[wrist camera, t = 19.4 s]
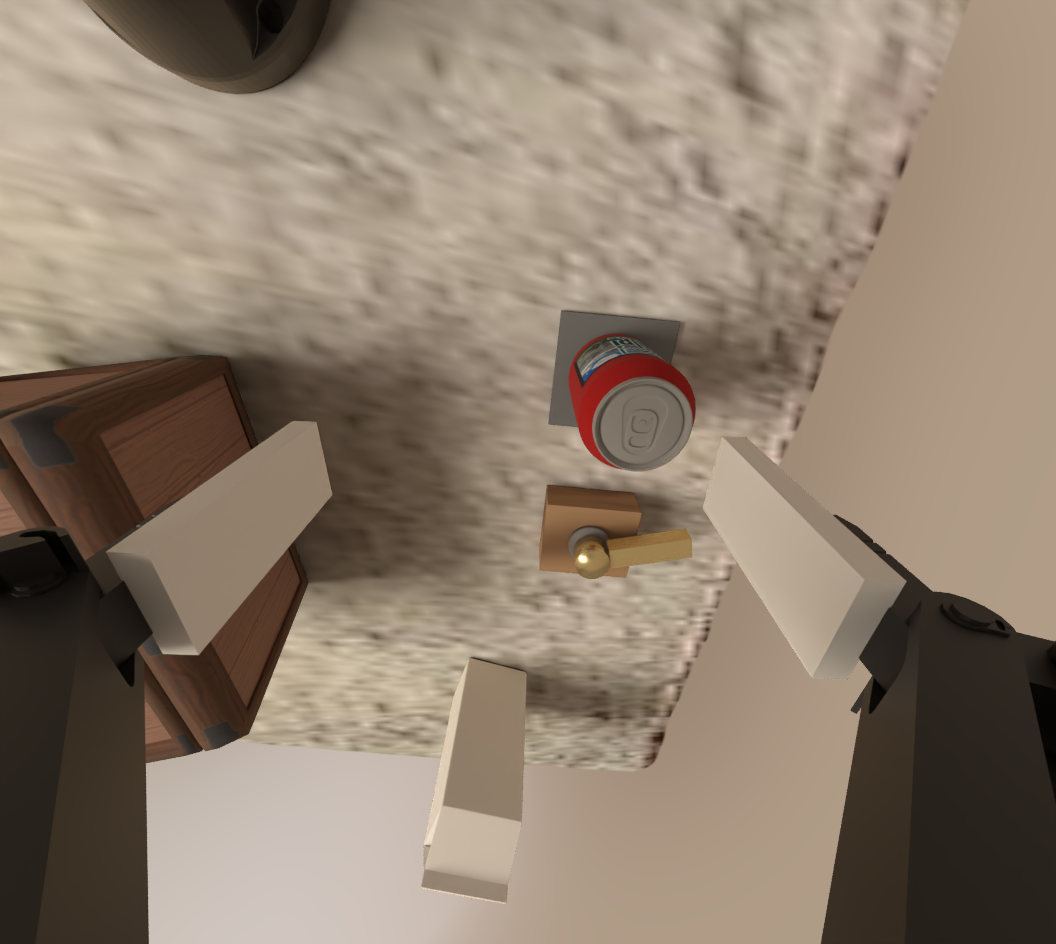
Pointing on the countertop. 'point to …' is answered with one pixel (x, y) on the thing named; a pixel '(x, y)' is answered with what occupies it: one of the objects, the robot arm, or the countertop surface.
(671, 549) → the lever
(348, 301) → the countertop surface
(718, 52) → the countertop surface
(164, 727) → the tissue box
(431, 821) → the milk carton
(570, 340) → the mat
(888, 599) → the robot arm
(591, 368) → the beverage can
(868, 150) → the countertop surface
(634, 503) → the pedestal
